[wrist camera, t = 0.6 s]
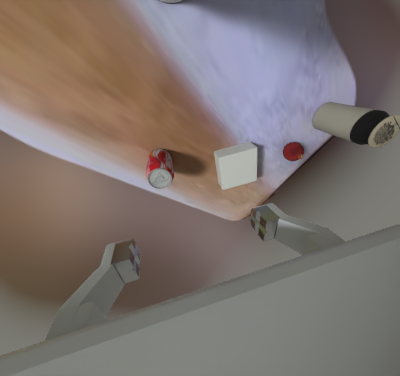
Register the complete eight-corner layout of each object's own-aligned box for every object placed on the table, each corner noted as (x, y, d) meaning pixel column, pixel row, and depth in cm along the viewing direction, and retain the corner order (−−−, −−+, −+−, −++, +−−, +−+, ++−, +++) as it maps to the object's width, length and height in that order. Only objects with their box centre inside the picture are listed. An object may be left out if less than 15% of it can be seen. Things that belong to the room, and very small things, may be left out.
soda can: (176, 159, 51) (180, 179, 41) (160, 173, 52) (159, 195, 43) (160, 142, 47) (160, 160, 37) (143, 157, 48) (138, 178, 39)
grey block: (213, 151, 51) (218, 158, 47) (249, 141, 52) (257, 147, 48) (218, 181, 59) (222, 189, 55) (250, 173, 59) (256, 180, 55)
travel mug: (317, 133, 55) (372, 155, 41) (307, 117, 51) (365, 135, 37) (339, 114, 52) (406, 130, 38) (330, 95, 48) (402, 105, 34)
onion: (274, 149, 55) (289, 159, 49) (288, 135, 53) (305, 144, 47) (283, 158, 58) (299, 168, 52) (297, 145, 56) (314, 154, 50)
